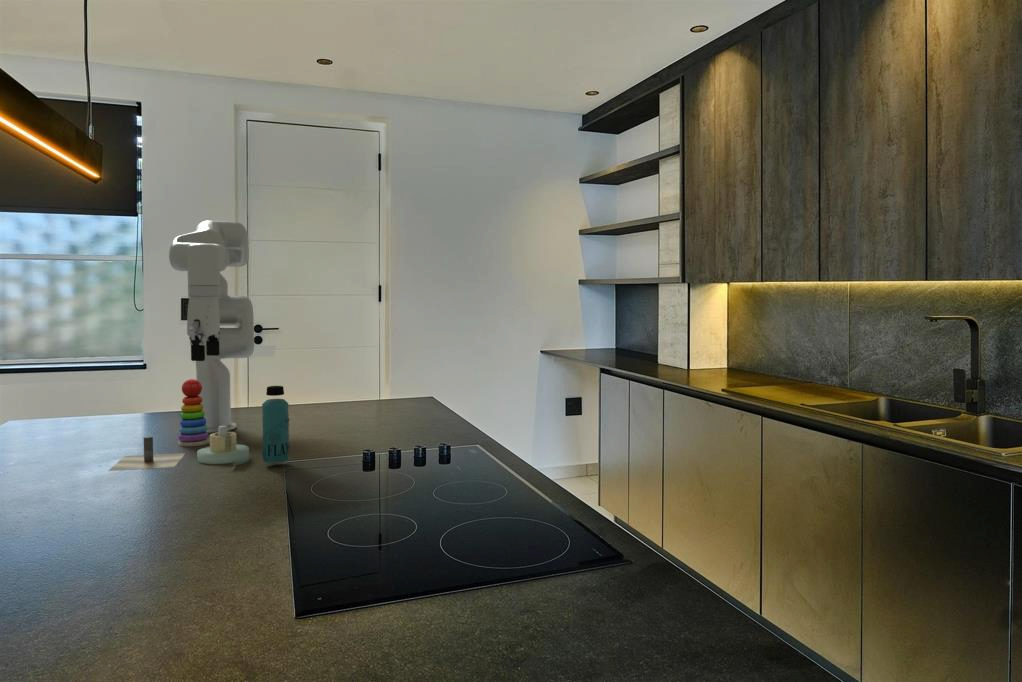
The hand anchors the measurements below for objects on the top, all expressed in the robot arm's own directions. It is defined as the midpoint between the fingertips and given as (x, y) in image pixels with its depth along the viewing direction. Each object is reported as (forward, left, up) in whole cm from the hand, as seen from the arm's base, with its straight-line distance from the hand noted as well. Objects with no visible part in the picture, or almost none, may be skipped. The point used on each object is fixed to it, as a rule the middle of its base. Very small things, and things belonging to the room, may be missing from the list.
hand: (205, 358), depth 170 cm
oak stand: (+7, -12, -26) cm, 29 cm away
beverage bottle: (+14, +18, -26) cm, 35 cm away
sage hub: (+7, +5, -26) cm, 27 cm away
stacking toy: (-12, -5, -26) cm, 29 cm away
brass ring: (+7, +5, -23) cm, 24 cm away
